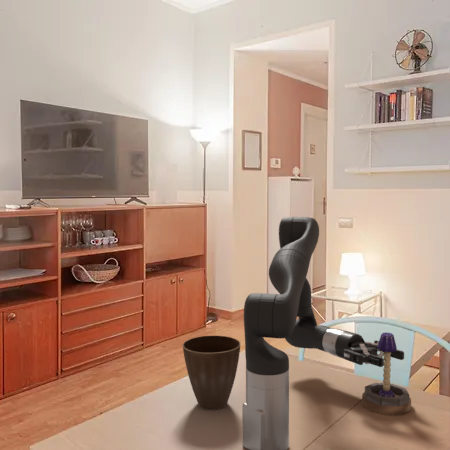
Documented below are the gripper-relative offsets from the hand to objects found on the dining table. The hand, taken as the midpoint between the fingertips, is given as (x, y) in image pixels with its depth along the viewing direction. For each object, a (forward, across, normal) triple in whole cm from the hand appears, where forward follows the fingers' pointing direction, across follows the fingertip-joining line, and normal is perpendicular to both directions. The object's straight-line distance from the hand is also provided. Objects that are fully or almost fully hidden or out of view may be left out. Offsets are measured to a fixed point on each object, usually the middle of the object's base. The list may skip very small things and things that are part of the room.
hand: (393, 359), depth 129 cm
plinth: (-2, 0, +12) cm, 13 cm away
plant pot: (-30, -35, +13) cm, 48 cm away
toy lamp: (-2, 0, +11) cm, 11 cm away
